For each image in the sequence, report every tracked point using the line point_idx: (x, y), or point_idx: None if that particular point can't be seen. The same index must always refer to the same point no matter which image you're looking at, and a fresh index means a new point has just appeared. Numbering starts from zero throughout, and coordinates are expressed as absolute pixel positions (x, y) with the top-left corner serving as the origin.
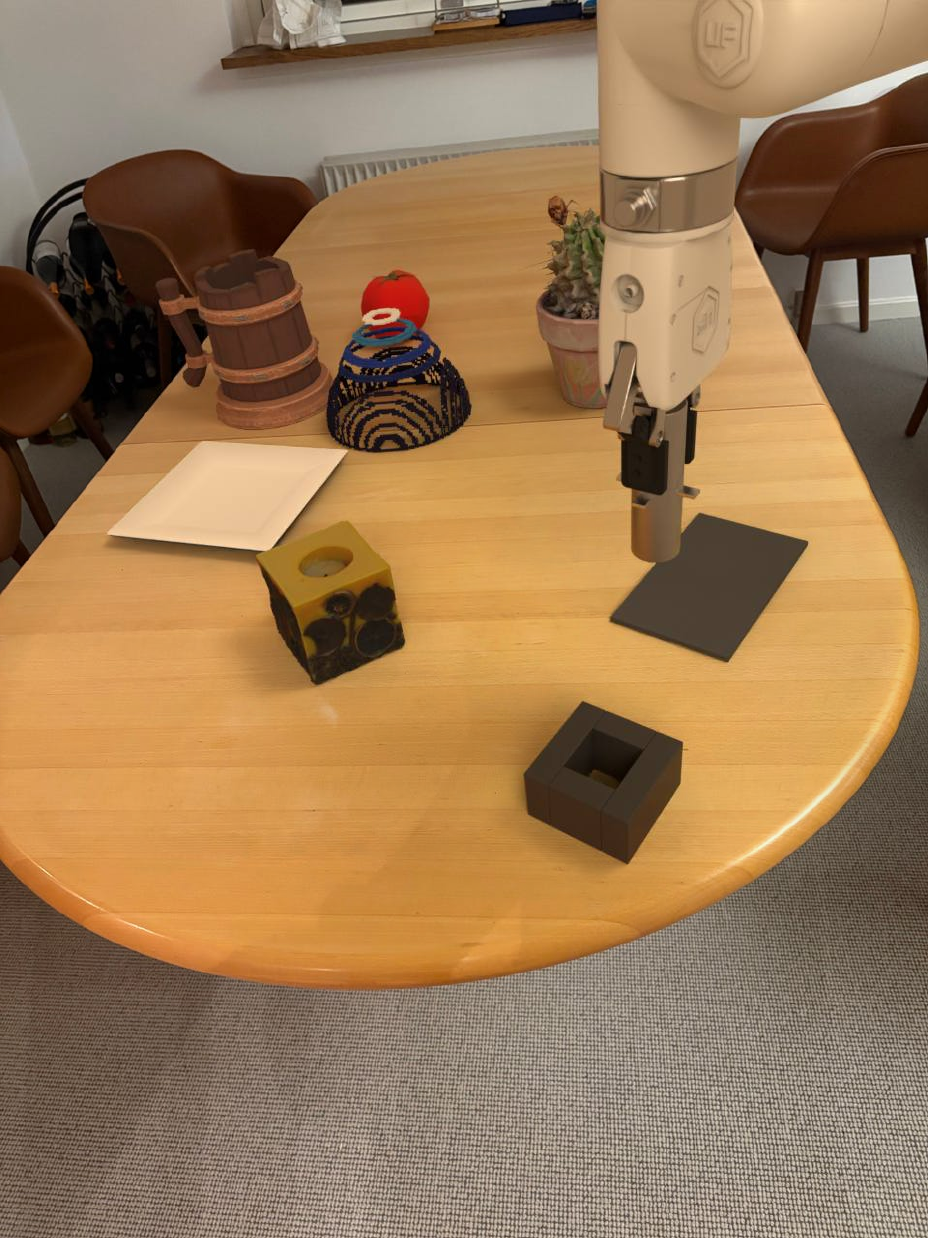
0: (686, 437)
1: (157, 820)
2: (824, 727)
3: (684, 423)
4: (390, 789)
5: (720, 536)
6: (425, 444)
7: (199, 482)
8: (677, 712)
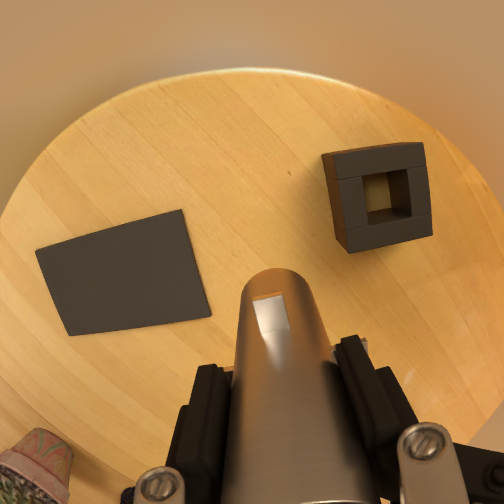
0: (217, 416)
1: (492, 363)
2: (191, 106)
3: (284, 457)
4: (438, 305)
5: (75, 307)
6: None
7: None
8: (259, 203)
